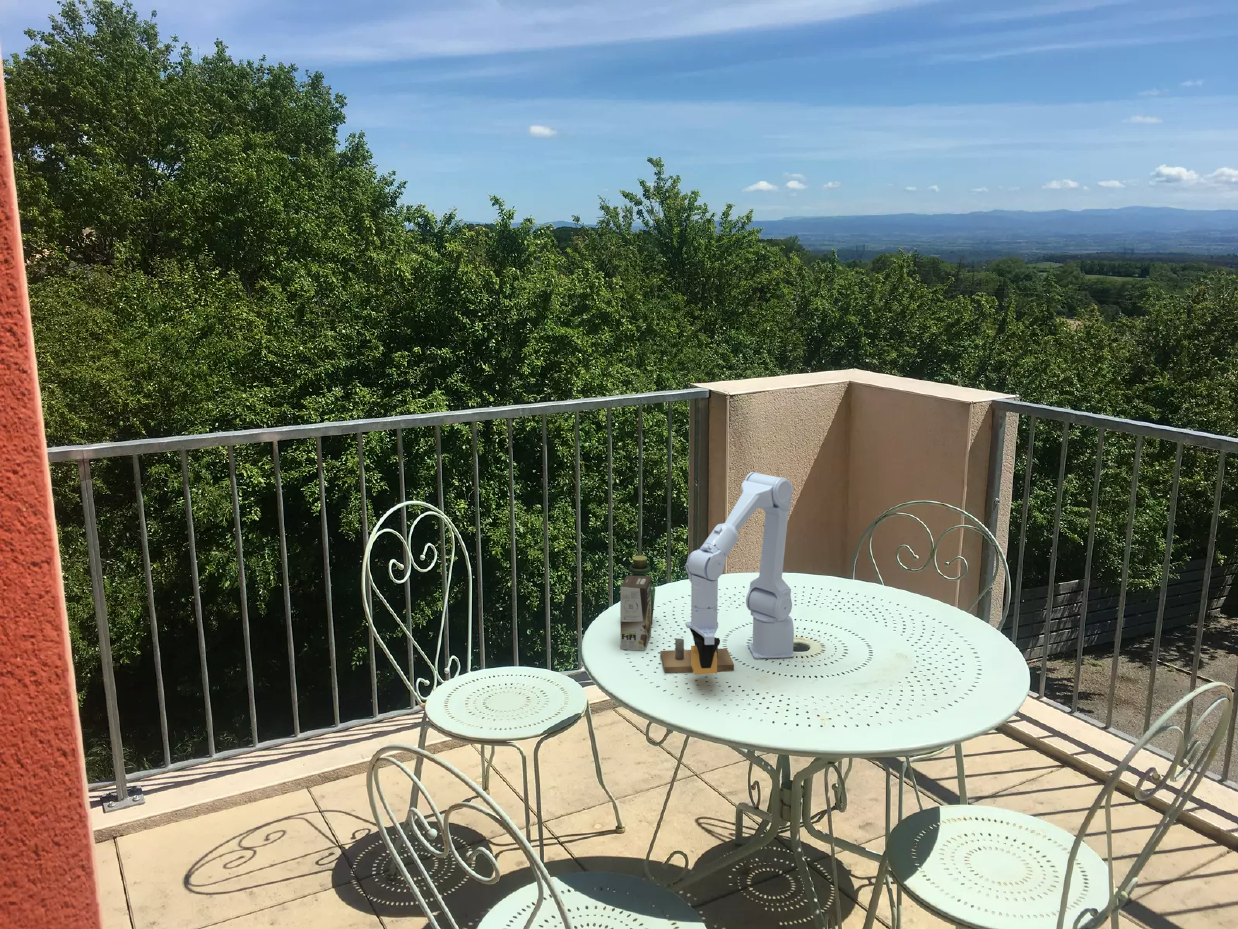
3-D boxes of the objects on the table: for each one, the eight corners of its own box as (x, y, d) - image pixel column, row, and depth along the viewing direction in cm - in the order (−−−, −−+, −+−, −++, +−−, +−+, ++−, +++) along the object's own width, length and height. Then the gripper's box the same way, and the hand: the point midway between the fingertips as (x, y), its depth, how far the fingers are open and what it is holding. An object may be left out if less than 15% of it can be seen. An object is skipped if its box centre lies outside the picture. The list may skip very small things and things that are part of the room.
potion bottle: (618, 621, 232) (618, 555, 228) (646, 615, 236) (645, 551, 232) (633, 632, 225) (633, 564, 221) (661, 626, 229) (661, 560, 225)
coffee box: (645, 651, 214) (645, 588, 210) (619, 649, 215) (619, 586, 211) (652, 636, 222) (652, 575, 219) (627, 634, 224) (626, 574, 220)
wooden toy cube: (713, 663, 199) (713, 644, 198) (716, 673, 194) (717, 654, 193) (690, 664, 199) (691, 645, 198) (694, 674, 194) (694, 655, 193)
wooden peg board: (726, 654, 212) (727, 630, 210) (734, 670, 203) (734, 646, 202) (660, 656, 211) (660, 633, 209) (664, 673, 202) (664, 648, 201)
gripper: (681, 593, 200) (681, 648, 203) (691, 617, 186) (690, 677, 189) (712, 591, 200) (711, 647, 203) (724, 616, 186) (723, 676, 189)
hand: (703, 662), depth 196 cm, fingers closed on wooden toy cube, 5 cm apart
